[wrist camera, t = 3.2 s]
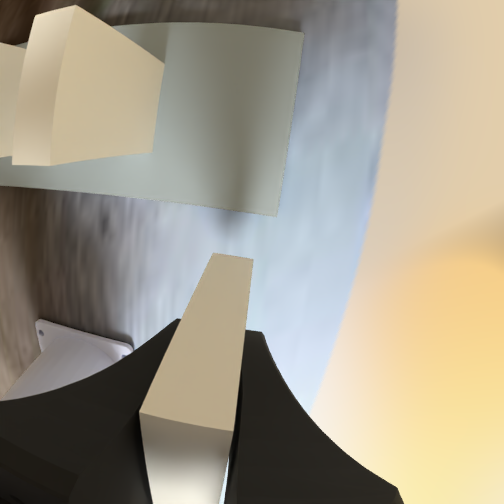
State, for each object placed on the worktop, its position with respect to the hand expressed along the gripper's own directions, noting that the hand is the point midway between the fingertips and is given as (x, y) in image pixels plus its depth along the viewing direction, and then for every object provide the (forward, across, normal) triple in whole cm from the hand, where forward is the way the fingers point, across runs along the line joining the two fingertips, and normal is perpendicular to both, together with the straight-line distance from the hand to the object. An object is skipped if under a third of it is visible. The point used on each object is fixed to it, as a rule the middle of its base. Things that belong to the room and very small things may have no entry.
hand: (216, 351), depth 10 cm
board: (+8, +10, -8) cm, 15 cm away
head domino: (+3, 0, 0) cm, 3 cm away
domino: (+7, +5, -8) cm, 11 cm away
